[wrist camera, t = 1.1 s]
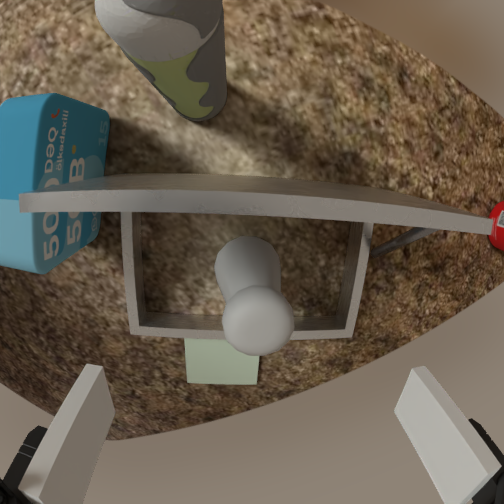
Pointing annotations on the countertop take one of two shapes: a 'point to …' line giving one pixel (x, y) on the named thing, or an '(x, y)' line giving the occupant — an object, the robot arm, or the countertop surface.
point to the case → (251, 203)
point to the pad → (218, 363)
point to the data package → (47, 176)
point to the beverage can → (497, 226)
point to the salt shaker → (253, 297)
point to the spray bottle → (173, 49)
